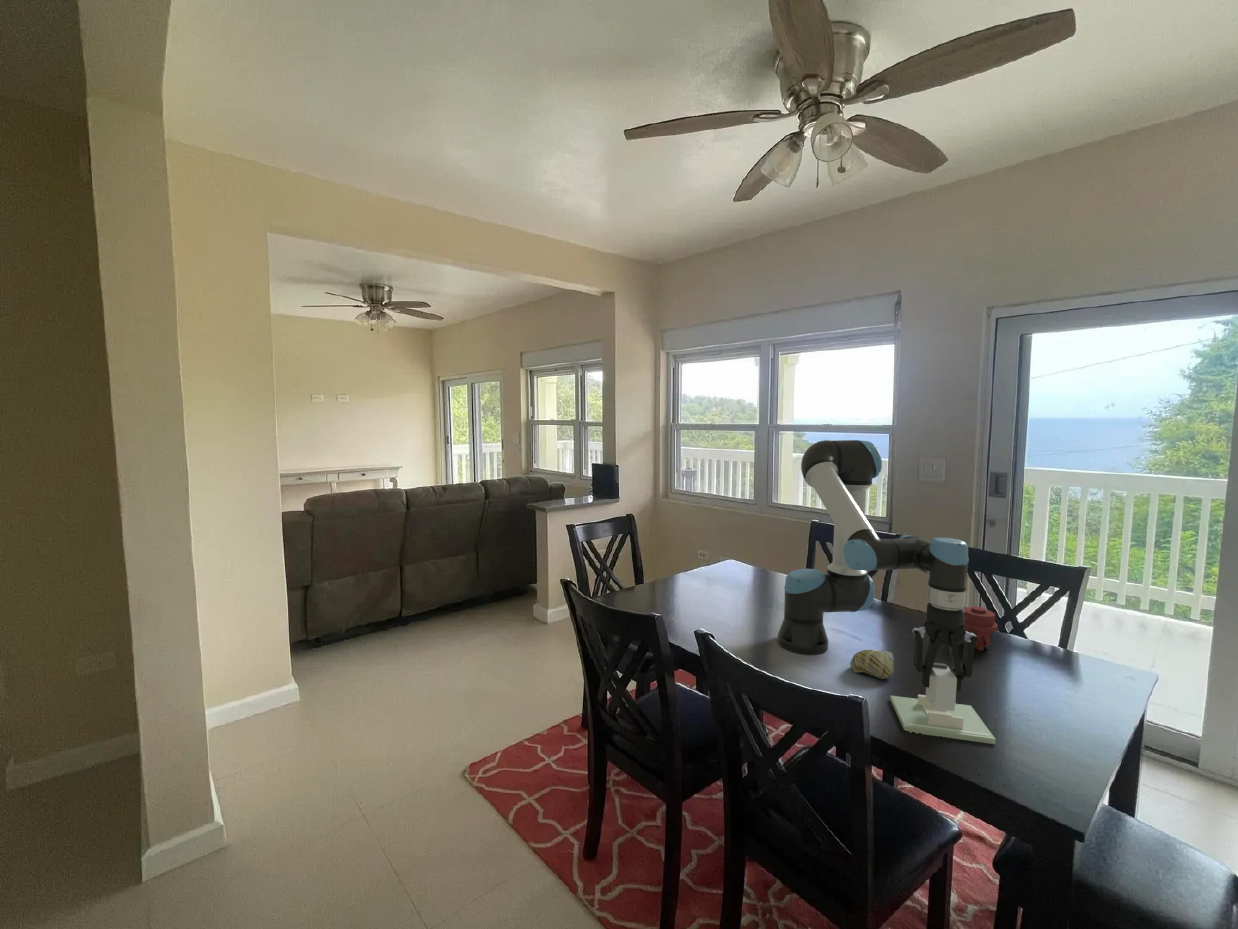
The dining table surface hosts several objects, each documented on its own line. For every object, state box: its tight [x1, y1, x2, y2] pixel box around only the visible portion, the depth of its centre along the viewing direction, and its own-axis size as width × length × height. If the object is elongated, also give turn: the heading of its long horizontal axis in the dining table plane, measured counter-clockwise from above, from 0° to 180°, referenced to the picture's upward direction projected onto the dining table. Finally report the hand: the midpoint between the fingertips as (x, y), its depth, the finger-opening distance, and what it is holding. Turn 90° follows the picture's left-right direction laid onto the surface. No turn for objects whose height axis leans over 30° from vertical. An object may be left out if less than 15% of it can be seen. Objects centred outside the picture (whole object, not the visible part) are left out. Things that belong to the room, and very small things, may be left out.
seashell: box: [849, 649, 895, 680], centre depth 147 cm, size 10×10×10 cm
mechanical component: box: [963, 605, 998, 652], centre depth 165 cm, size 12×10×10 cm
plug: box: [931, 662, 957, 711], centre depth 124 cm, size 4×6×9 cm, turn 165°
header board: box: [889, 694, 997, 745], centre depth 124 cm, size 18×14×4 cm
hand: (940, 701), depth 124 cm, fingers closed on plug, 4 cm apart
